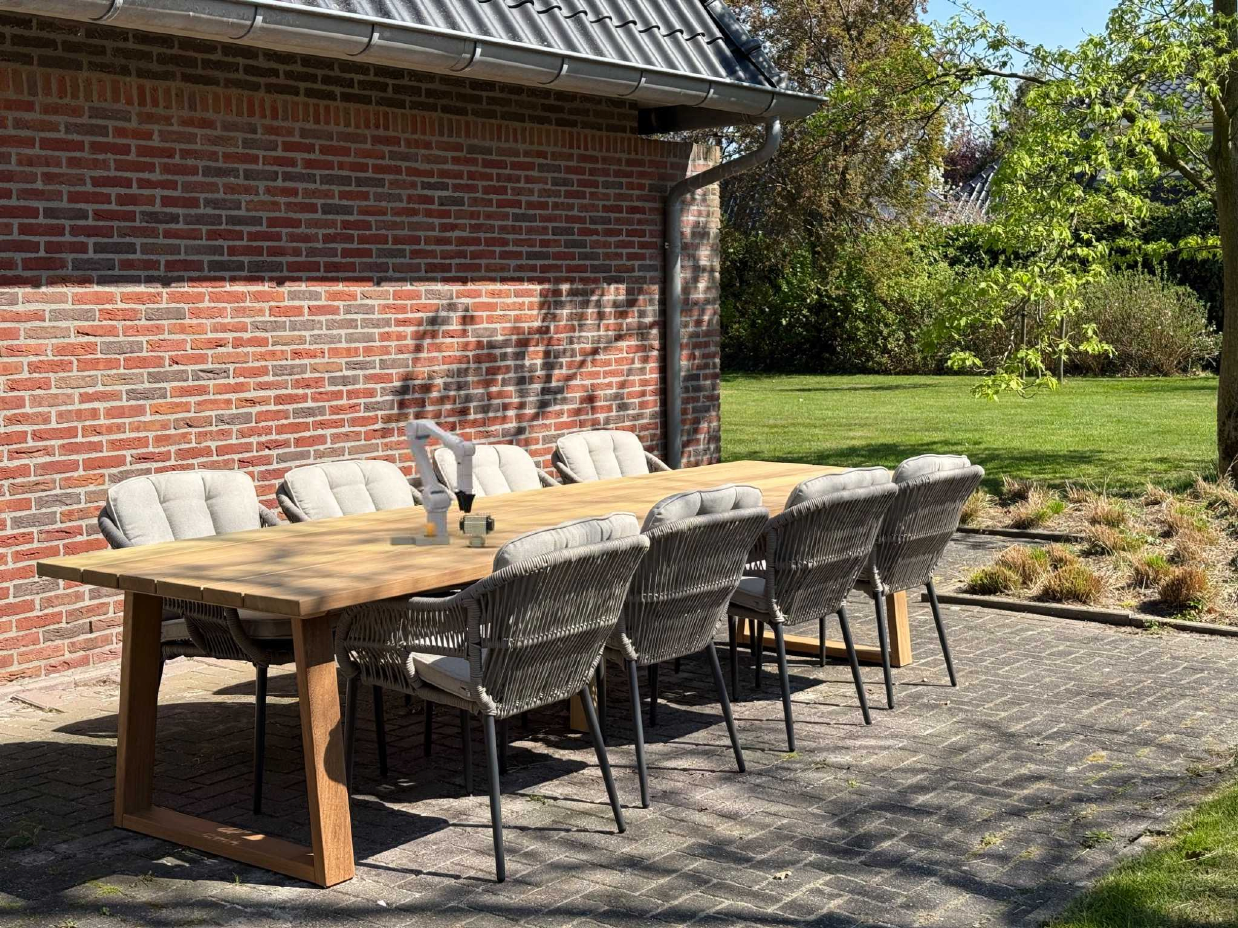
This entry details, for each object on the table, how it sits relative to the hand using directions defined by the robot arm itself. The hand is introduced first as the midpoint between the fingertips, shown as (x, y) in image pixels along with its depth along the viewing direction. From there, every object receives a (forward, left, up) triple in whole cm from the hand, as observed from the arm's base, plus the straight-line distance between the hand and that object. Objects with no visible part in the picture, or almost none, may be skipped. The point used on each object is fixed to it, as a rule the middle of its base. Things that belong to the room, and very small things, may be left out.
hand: (465, 511), depth 542 cm
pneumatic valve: (+21, 0, -10) cm, 23 cm away
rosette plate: (+6, -18, -10) cm, 21 cm away
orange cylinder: (+6, -14, -10) cm, 18 cm away
